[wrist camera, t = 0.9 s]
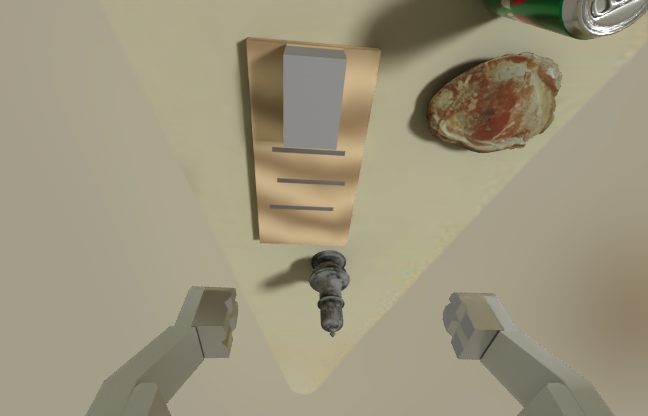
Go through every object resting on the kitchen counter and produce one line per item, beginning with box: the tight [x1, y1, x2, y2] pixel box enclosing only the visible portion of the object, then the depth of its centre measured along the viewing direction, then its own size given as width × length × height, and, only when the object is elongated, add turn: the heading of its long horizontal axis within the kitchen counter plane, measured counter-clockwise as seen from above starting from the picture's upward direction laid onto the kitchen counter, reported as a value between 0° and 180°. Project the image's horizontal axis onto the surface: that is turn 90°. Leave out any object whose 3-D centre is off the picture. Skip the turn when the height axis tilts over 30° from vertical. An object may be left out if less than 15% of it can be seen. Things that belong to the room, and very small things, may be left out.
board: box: [246, 37, 381, 246], centre depth 36 cm, size 25×12×1 cm, turn 175°
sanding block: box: [283, 44, 347, 150], centre depth 28 cm, size 8×5×4 cm, turn 175°
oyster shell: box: [427, 52, 562, 153], centre depth 31 cm, size 13×10×3 cm
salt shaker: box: [309, 251, 350, 337], centre depth 43 cm, size 6×6×12 cm
